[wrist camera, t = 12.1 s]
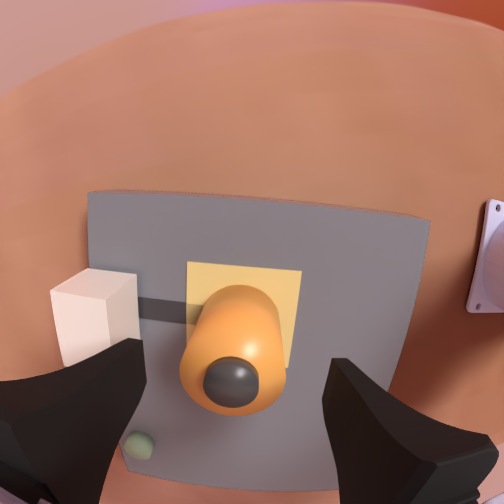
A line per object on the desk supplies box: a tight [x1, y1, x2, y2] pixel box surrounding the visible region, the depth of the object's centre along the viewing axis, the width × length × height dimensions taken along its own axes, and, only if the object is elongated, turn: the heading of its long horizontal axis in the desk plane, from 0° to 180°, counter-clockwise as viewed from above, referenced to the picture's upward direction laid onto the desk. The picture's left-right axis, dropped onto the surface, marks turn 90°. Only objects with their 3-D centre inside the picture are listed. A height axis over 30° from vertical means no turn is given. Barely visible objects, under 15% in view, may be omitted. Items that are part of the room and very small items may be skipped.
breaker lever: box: [50, 268, 140, 367], centre depth 14 cm, size 3×4×4 cm
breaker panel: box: [87, 190, 431, 492], centre depth 18 cm, size 18×22×4 cm
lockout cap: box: [179, 285, 286, 416], centre depth 13 cm, size 4×4×6 cm
